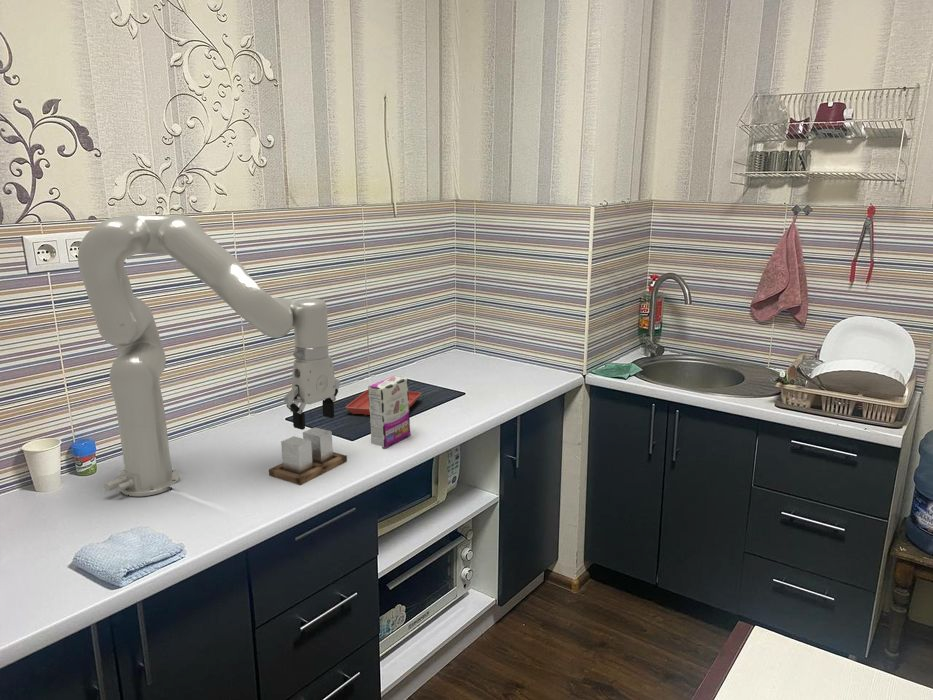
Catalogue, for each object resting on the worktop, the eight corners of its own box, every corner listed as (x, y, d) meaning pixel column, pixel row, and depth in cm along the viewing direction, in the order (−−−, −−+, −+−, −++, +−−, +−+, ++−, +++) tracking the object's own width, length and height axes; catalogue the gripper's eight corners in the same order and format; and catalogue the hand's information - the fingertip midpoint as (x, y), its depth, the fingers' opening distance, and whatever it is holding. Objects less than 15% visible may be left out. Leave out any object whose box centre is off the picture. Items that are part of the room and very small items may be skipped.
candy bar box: (396, 432, 188) (394, 374, 184) (410, 435, 185) (409, 377, 181) (369, 445, 178) (367, 385, 174) (384, 449, 176) (382, 388, 172)
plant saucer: (344, 417, 201) (344, 406, 200) (368, 398, 218) (367, 388, 217) (403, 421, 197) (402, 410, 196) (422, 402, 214) (422, 392, 213)
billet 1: (300, 479, 156) (298, 446, 154) (283, 473, 159) (281, 441, 157) (313, 473, 160) (311, 440, 158) (296, 468, 162) (293, 436, 160)
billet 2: (321, 468, 162) (319, 436, 160) (304, 463, 165) (302, 432, 163) (333, 462, 165) (331, 431, 163) (316, 457, 168) (314, 427, 166)
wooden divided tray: (300, 489, 153) (299, 478, 153) (269, 479, 159) (268, 469, 158) (347, 465, 166) (346, 455, 166) (317, 456, 171) (316, 447, 171)
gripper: (296, 362, 149) (299, 436, 153) (349, 347, 164) (350, 415, 168) (271, 357, 153) (275, 429, 157) (326, 343, 167) (327, 410, 171)
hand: (314, 422), depth 162 cm, fingers open, 9 cm apart
